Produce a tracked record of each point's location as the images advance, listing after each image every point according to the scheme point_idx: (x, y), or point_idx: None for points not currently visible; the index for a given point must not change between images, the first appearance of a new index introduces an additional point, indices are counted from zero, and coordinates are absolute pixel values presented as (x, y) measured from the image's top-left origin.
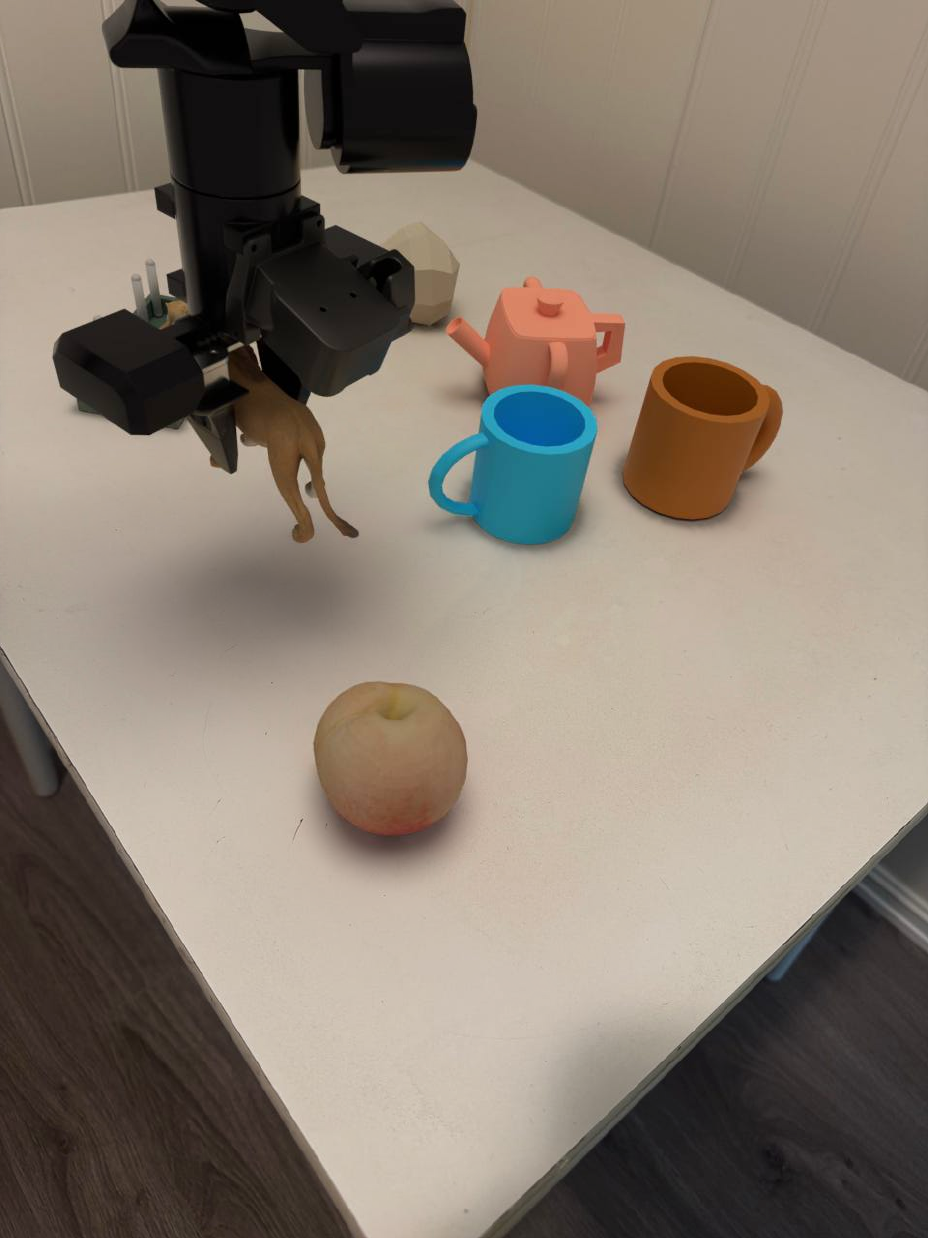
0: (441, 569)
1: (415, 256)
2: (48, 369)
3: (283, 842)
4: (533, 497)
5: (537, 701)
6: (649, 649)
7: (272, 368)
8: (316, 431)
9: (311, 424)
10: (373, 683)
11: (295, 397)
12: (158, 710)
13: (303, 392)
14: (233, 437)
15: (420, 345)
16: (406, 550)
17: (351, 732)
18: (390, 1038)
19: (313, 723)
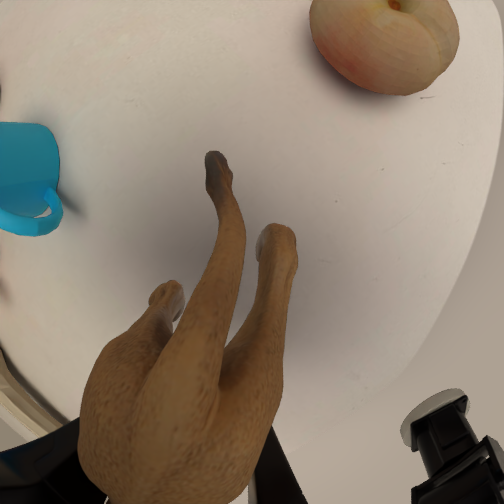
0: (112, 167)
1: None
2: None
3: (439, 101)
4: (14, 136)
5: (196, 10)
6: (102, 3)
7: (92, 496)
8: (108, 407)
9: (109, 441)
10: (383, 30)
11: None
12: (408, 261)
13: (68, 444)
14: (266, 482)
15: (3, 336)
16: (114, 210)
17: (450, 25)
18: (461, 8)
19: (349, 139)
